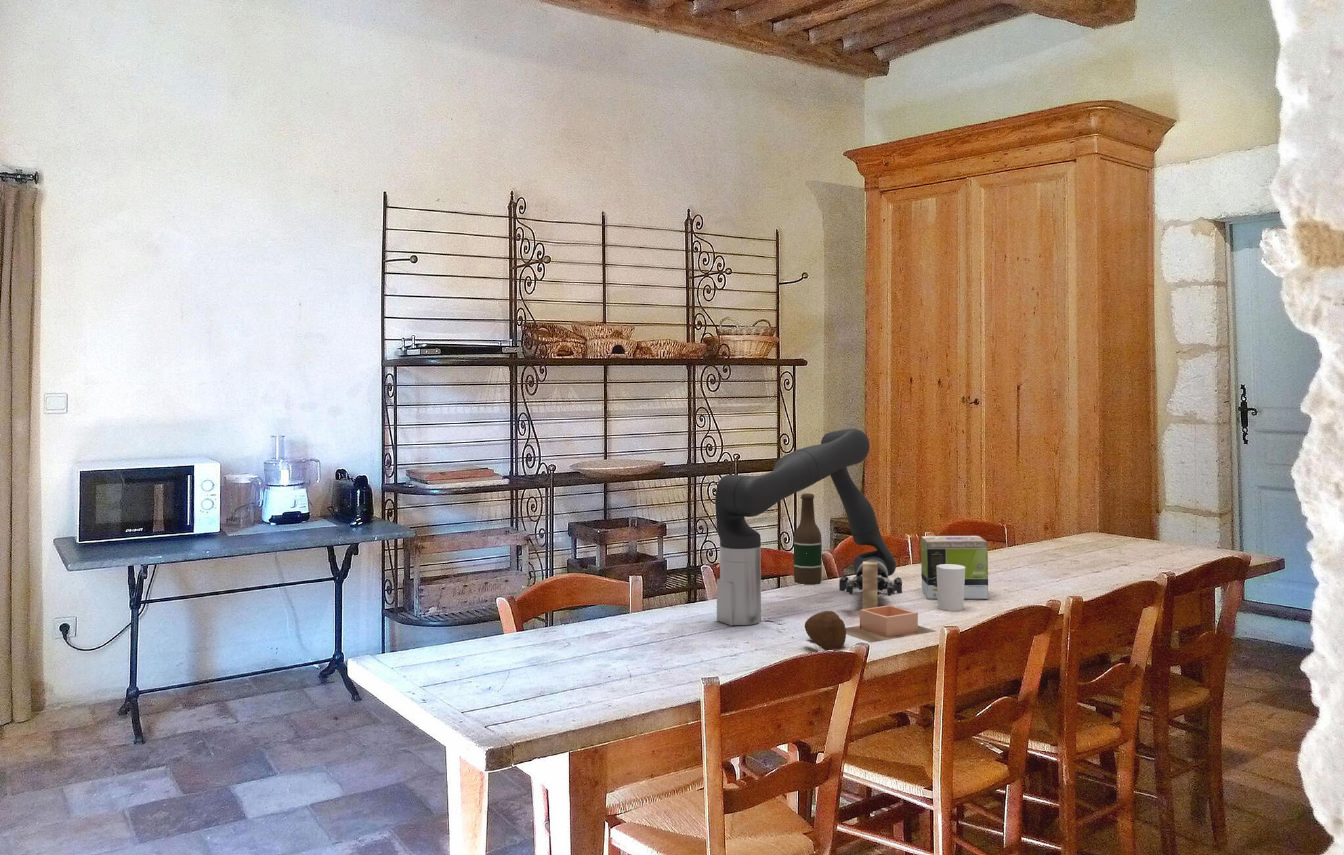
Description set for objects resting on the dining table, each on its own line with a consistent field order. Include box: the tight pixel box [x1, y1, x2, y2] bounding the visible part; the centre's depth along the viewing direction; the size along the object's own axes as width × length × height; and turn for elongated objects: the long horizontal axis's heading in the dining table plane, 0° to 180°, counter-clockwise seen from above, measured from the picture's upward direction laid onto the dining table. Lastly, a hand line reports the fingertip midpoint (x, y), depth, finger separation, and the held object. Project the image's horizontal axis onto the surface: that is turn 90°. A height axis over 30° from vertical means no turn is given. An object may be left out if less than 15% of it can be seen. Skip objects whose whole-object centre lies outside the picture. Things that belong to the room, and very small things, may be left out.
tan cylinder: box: [862, 562, 878, 609], centre depth 227 cm, size 4×4×13 cm
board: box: [845, 625, 936, 643], centre depth 212 cm, size 18×12×1 cm, turn 119°
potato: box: [804, 610, 847, 651], centre depth 202 cm, size 7×10×8 cm
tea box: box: [920, 535, 989, 600], centre depth 251 cm, size 15×10×15 cm, turn 84°
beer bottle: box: [793, 493, 823, 585], centre depth 270 cm, size 8×8×24 cm
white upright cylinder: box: [936, 564, 965, 612], centre depth 237 cm, size 7×7×10 cm
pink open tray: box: [859, 604, 919, 637], centre depth 213 cm, size 9×9×4 cm
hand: (869, 590), depth 225 cm, fingers open, 8 cm apart
